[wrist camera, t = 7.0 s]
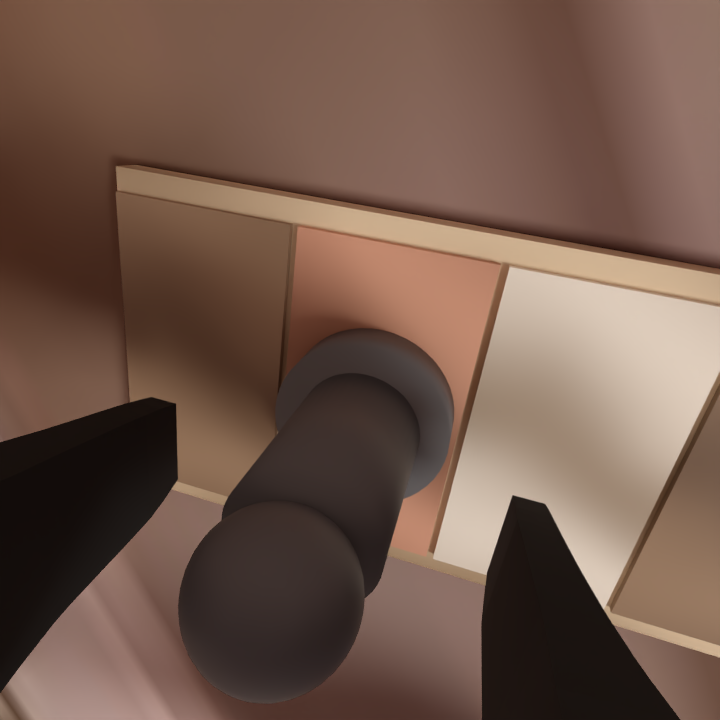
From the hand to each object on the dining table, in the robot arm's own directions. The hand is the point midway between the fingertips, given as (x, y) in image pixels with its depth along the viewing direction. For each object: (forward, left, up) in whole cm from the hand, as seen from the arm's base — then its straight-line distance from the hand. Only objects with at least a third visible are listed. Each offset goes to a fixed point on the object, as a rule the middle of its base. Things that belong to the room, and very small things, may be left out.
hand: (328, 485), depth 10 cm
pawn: (0, 0, -3) cm, 3 cm away
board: (0, -5, -4) cm, 7 cm away
